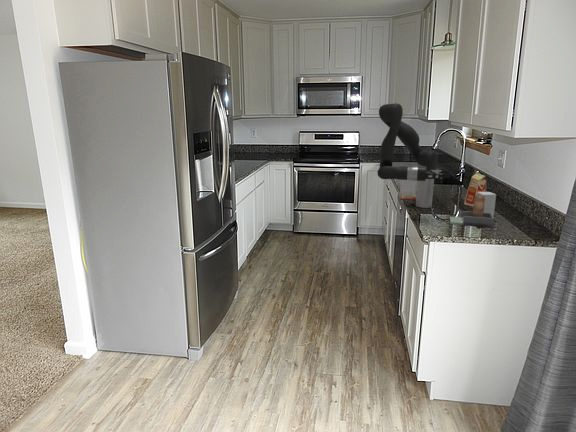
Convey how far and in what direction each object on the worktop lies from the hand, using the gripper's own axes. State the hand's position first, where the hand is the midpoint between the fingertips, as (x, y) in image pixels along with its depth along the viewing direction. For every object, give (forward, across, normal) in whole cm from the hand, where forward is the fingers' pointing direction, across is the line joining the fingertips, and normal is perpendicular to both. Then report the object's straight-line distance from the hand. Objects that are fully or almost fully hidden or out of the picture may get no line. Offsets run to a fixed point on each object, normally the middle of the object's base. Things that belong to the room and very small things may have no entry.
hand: (449, 174), depth 210 cm
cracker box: (-20, +50, +26) cm, 60 cm away
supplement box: (+20, +18, +26) cm, 37 cm away
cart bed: (+12, -1, +25) cm, 27 cm away
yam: (+15, -1, +23) cm, 27 cm away
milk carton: (+18, +45, +26) cm, 55 cm away
